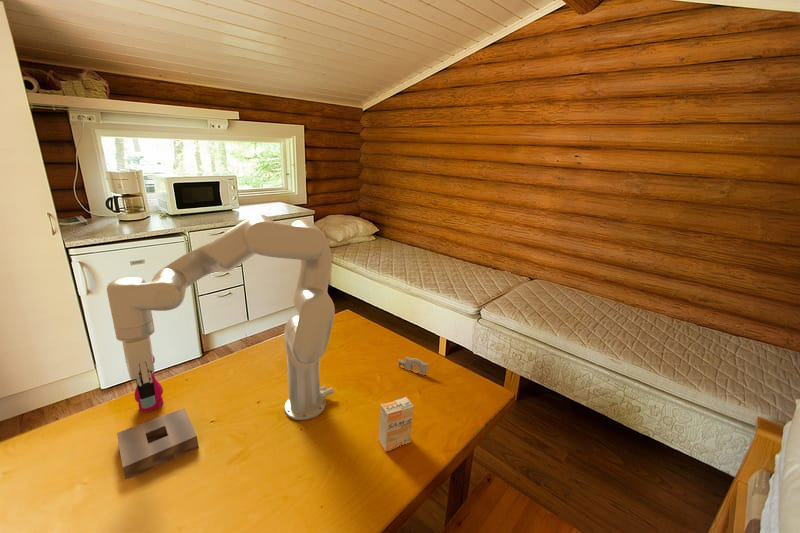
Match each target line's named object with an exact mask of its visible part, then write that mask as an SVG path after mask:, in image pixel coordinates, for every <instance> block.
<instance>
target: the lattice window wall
mask: <svg viewBox="0 0 800 533" xmlns="http://www.w3.org/2000/svg"><path fill="white" fill-rule="evenodd" d="M397 362H398V367H399V366H400V365H403V366H404V368H407V369H410V370H411V371H412V370H413V369H415V370H416V371H419V372H418V373H422V374H425V375H426V373H427V372H428V366H429V363H426V362H424V361H422V359H421V360H420V359H419V358H415V357H413V358H412V357H409V356H405V358H404V359H401V358H400V359H398V361H397ZM411 371H410V372H411ZM427 374H428V373H427ZM426 376H427V375H426Z"/></svg>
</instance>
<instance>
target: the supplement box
mask: <svg viewBox="0 0 800 533" xmlns="http://www.w3.org/2000/svg"><path fill="white" fill-rule="evenodd" d="M379 408H380V410H379V425H378V426H379V427H378V428H379V429H378V431H379V432H378V442H379V444H380V445H381V447H382V449H383V451H384V453H387V451H388V452H390V451H392V449H393V450H395V449H398V448H400V447H402V446H401V445H403V446H405V445H404V444H406V445H408V444H407V443H410V442H411V439H412V427H413V416H414V415H413V414H414V404H412V403H411V400H410V399H408V397H407V396H405V397H401V398H397V399H393V400H390V401H386V402H383V403H380V407H379ZM410 444H411V443H410ZM399 446H400V447H399ZM397 447H398V448H397ZM394 448H395V449H394Z"/></svg>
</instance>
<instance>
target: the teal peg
mask: <svg viewBox="0 0 800 533" xmlns="http://www.w3.org/2000/svg"><path fill="white" fill-rule="evenodd" d="M140 379H142V377H140ZM136 380H137V383H136V386H137V385H139V383H138V378H135V381H136ZM140 401H141V406H142V408H150V407H152V406H154V405H155V403H156V402H155V396H151V397H148V398H145V399H140Z"/></svg>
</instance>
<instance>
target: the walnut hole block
mask: <svg viewBox="0 0 800 533" xmlns="http://www.w3.org/2000/svg"><path fill="white" fill-rule="evenodd" d="M116 436H117V442H118V448H119V449H118V450H119V454H120V460H121V461H120V462H121V466H122V470H123V475H124V478H125V481H127V480H129V479H131V478H134V477H137V476H138V475H140V474H143V473H145V472H147V471H150V470H152V469H155V468H156V467H158V466H162V465H163V464H165V463H168V462H169V461H172V460H174V459H177V458H179V457H182V456H183V455H185V454H188V453H190V452H192V451H195V450H196V449H199V448H200V447H199V441H198V435H197V433H196V430H195V428H194V426H193V423H192V421H191V419H190V416H189V414H188V412H187V410H186V408H185V407H183V408H180V409H177V410H174V411H171V412H169V413H166V414H164V415H161V416H159V417H156V418H153V419H151V420H148V421H145V422H143V423H140V424H137V425H135V426H132V427H129V428H127V429H125V430H122V431H118V432H116Z"/></svg>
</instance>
